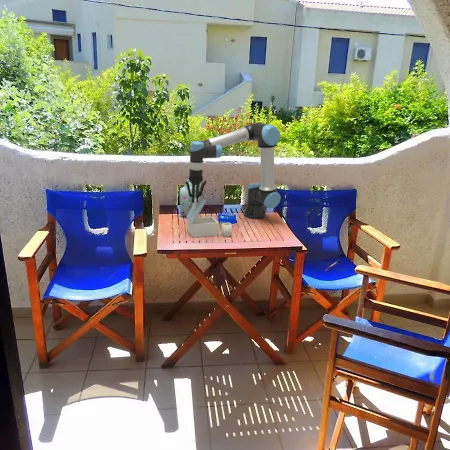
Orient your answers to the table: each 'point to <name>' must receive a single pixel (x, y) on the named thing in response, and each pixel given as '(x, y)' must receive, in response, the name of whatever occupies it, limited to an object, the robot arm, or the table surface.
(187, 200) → the lunch box
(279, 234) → the table surface
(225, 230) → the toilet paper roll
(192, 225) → the crate
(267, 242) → the table surface
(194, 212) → the lid
